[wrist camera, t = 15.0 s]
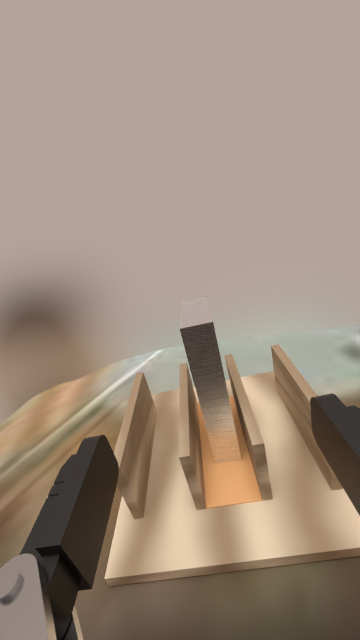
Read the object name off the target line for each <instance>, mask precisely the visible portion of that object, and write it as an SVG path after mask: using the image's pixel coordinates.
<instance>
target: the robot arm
mask: <svg viewBox="0 0 360 640" xmlns="http://www.w3.org/2000/svg"><path fill="white" fill-rule="evenodd" d="M310 407H311V426H312V432H313V436H314V438H315V441H316V443H317V445H318V447H319V449H320V450H321V452H322V454H323V455H324V457H325V459H326V460H327V462H328V464H329V465H330V467H331V469H332V470H333V472H334V474H335V475H336V477H337V479H338V480H339V482H340V484H341V485H342V487H343V489H344V490H345V492H346V494H347V495H348V497H349V499H350V500H351V502H352V504H353V505H354V507H355V509H356V511H357V512H358V514H359V516H360V409H359V408H358V407H356V406H349V407H345V405H344V404H343V403H342V402H341V401H340V400H339V398H338V397H337V396H336V395H334V394H327V395H322V396H316V397H311V399H310ZM118 476H119V466H118V462H117V459H116V457H115V455H114V453H113V451H112V448H111V446H110V444H109V442H108V440H107V438H106V436H104V435H100V436H95V437H89V438H85V439H83V441H82V442H81V445H80V447H79V449H78V451H77V454H75V455H71V457H70V458H69V459H68V460H67V462H66V463H65V464H64V465H63V466H62V468H61V469H60V471H59V474H58V476H57V478H56V480H55V482H54V486H52V488H51V490H50V492H49V495H48V498H47V499H46V501H45V503H44V505H43V507H42V509H41V511H40V513H39V516H38V518H37V520H36V522H35V524H34V526H33V528H32V530H31V532H30V535H29V537H28V539H27V541H26V543H25V545H24V547H23V549H22V551H21V553H20V554H19V555H18V556H16V557H14V558H13V559H11V560H10V561H8V562H7V563H6V564H5V565H4V566H3V567H2V568H1V569H0V640H83V636H82V632H81V628H80V623H79V619H78V615H77V611H76V608H75V606H74V604H75V600H76V597H77V593H78V591H79V590H87V589H92V586H93V582H94V578H95V573H96V569H97V565H98V561H99V557H100V552H101V548H102V544H103V540H104V536H105V531H106V527H107V523H108V519H109V515H110V511H111V506H112V502H113V498H114V494H115V490H116V485H117V481H118Z"/></svg>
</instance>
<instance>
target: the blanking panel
mask: <svg viewBox="0 0 360 640" xmlns="http://www.w3.org/2000/svg"><path fill="white" fill-rule="evenodd" d="M180 332H181V336H182V339H183V343H184V347H185V351H186V354H187V358H188V362H189V366H190V370H191V373H192V377H193V381H194V385H195V388H196V392H197V396H198V400H199V403H200V407H201V411H202V415H203V419H204V422H205V426H206V430H207V434H208V437H209V441H210V445H211V449H212V452H213V456H214V460H215V464H219V463H226V462H233V461H239V460H242V459H241V454H240V450H239V445H238V440H237V435H236V430H235V425H234V421H233V416H232V411H231V406H230V401H229V396H228V392H227V387H226V382H225V377H224V372H223V367H222V363H221V358H220V353H219V348H218V343H217V339H216V334H215V329H214V324H213V320H212V316H211V312H210V308H209V304H208V301H207V297H206V296H205V297H201V298H196V299H192V300H187V301H183V302H181V313H180Z"/></svg>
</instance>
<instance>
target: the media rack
mask: <svg viewBox="0 0 360 640" xmlns="http://www.w3.org/2000/svg"><path fill="white" fill-rule="evenodd" d="M271 349H272V357H273V366H274V371H272V372H267V373H261V374H256V375H251V376H246V377H241V378H240V375H239V373H238V370H237V367H236V364H235V362H234V359H233V356H232V354H230V355H225V359H226V364H227V369H228V374H229V379H230V380H225V382H226V387H227V392H228V396H229V401H230V406H231V411H232V416H233V421H234V425H235V430H236V435H237V440H238V445H239V450H240V454H241V459H242V460H239V461H233V462H226V463H219V464H215V460H214V456H213V452H212V449H211V445H210V441H209V437H208V434H207V430H206V426H205V422H204V419H203V415H202V411H201V407H200V403H199V400H198V396H197V392H196V388H195V386H194V387H193V385H192V381H191V377H190V374H189V370H188V366H187V363H186V364H181V365H180V389H179V390H174V391H168V392H163V393H158V394H153V395H151V393H150V390H149V387H148V385H147V382H146V379H145V376H144V373H143V372H141V373H137V374H136V377H135V381H134V384H133V388H132V391H131V395H130V398H129V402H128V405H127V409H126V412H125V416H124V419H123V423H122V426H121V430H120V433H119V437H118V440H117V443H116V447H115V450H114V455H115V457H116V459H117V462H118V466H119V476H118V481H117V486H118V488H119V490H120V492H121V494H122V499H121V504H120V508H119V513H118V518H117V523H116V527H115V532H114V537H113V541H112V546H111V551H110V556H109V560H108V565H107V570H106V574H105V580H106V582H107V583H108V585H109V586H116V585H125V584H133V583H141V582H150V581H158V580H166V579H175V578H183V577H191V576H199V575H208V574H216V573H224V572H233V571H241V570H249V569H258V568H266V567H274V566H282V565H291V564H299V563H307V562H316V561H324V560H332V559H341V558H349V557H357V556H360V516H359V514H358V512H357V511H356V509H355V507H354V505H353V504H352V502H351V500H350V499H349V497H348V495H347V494H346V492H345V490H344V489H343V487H342V485H341V484H340V482H339V480H338V479H337V477H336V475H335V474H334V472H333V470H332V469H331V467H330V465H329V464H328V462H327V460H326V459H325V457H324V455H323V454H322V452H321V450H320V449H319V447H318V445H317V443H316V441H315V438H314V436H313V432H312V426H311V407H310V399H311V397H316V396H317V395H316V394H315V392H314V391H313V390H312V388H311V387H310V386H309V384H308V383H307V382H306V380H305V379H304V378H303V376H302V375H301V374H300V372H299V371H298V370H297V369H296V367H295V366H294V365H293V363H292V362H291V361H290V359H289V358H288V357H287V355H286V354H285V353H284V351H283V350H282V349H281V347H280V346H279V345H274V346H271Z"/></svg>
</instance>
